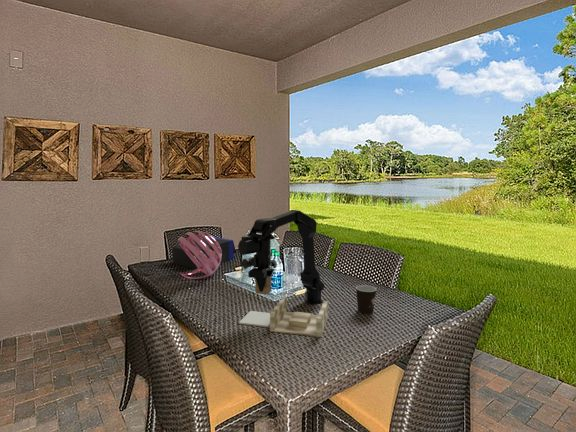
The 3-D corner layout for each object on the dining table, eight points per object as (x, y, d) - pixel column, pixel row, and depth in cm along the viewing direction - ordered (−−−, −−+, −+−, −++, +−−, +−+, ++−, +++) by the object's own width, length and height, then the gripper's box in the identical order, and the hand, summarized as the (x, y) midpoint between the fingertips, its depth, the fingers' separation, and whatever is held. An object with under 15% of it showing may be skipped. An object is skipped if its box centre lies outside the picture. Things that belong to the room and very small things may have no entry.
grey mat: (250, 312, 148) (250, 310, 148) (277, 315, 145) (277, 313, 145) (239, 323, 136) (239, 322, 136) (268, 327, 133) (268, 325, 133)
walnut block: (259, 289, 141) (259, 275, 140) (271, 290, 140) (271, 276, 139) (255, 293, 136) (255, 278, 136) (267, 294, 135) (267, 279, 134)
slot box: (283, 312, 147) (283, 297, 146) (328, 317, 142) (328, 301, 141) (270, 331, 130) (270, 313, 129) (320, 337, 125) (320, 318, 124)
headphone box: (236, 259, 243) (236, 239, 241) (194, 269, 216) (193, 247, 214) (214, 254, 258) (214, 235, 257) (173, 263, 232) (172, 242, 230)
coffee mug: (364, 316, 143) (364, 293, 142) (351, 309, 151) (351, 287, 150) (385, 311, 149) (386, 288, 148) (371, 304, 156) (372, 283, 155)
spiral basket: (162, 250, 179) (203, 218, 190) (160, 252, 205) (196, 224, 215) (197, 291, 183) (235, 257, 194) (190, 288, 209) (224, 258, 219)
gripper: (252, 245, 147) (252, 281, 149) (235, 254, 129) (235, 295, 131) (277, 247, 145) (277, 283, 146) (263, 256, 127) (263, 297, 128)
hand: (263, 289), depth 138 cm, fingers closed on walnut block, 5 cm apart
